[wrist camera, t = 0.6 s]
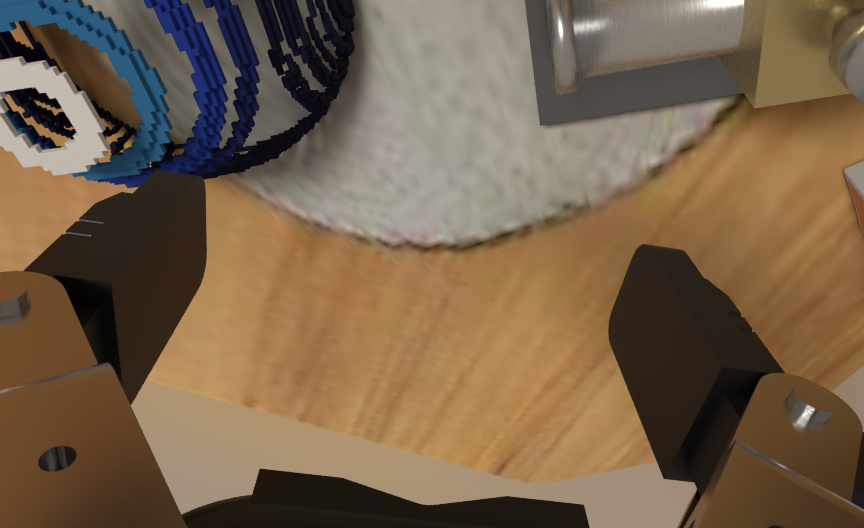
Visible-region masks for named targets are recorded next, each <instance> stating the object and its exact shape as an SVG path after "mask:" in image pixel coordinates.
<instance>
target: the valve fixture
mask: <svg viewBox="0 0 864 528" xmlns="http://www.w3.org/2000/svg"><path fill="white" fill-rule="evenodd" d="M525 4H526V13H527V21H528V29H529V37H530V46H531V54H532V62H533V70H534V79H535V87H536V95H537V104H538V112H539V120H540V126H542V125H548V124H554V123H560V122H567V121H573V120H579V119H585V118H592V117H598V116H604V115H610V114H616V113H623V112H629V111H635V110H641V109H647V108H654V107H660V106H666V105H672V104H678V103H685V102H691V101H697V100H703V99H709V98H716V97H722V96H728V95H734V94H740V93H744V94H745V96H746V97H747V99H748V100H749V101H750V103H751V104H752V106H753V107H754V109H755V108H761V107H767V106H774V105H780V104H787V103H793V102H799V101H806V100H812V99H819V98H825V97H831V96H838V95H844V94H851V92H850V91H849V90H848V89H847V88H846V87H845V86H844V85H843V84H842V83H841V82H840V81H839V80H838V79H837V78H836V77H835V76H834V75H833V73H832V72H831V70H830V67H829V63H828V57H829V51H830V47H831V45H832V43H833V41H834V39H835V37H836V36H837V34H838V33H839V31H840V30H841V29H842V28H843V27H844V26H845V25H846V24H847V23H848V22H849V21H850V20H851V19H853V18H854V17H855V16H857V15H858V14H860V13H862V12H863V11H864V0H525Z"/></svg>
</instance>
